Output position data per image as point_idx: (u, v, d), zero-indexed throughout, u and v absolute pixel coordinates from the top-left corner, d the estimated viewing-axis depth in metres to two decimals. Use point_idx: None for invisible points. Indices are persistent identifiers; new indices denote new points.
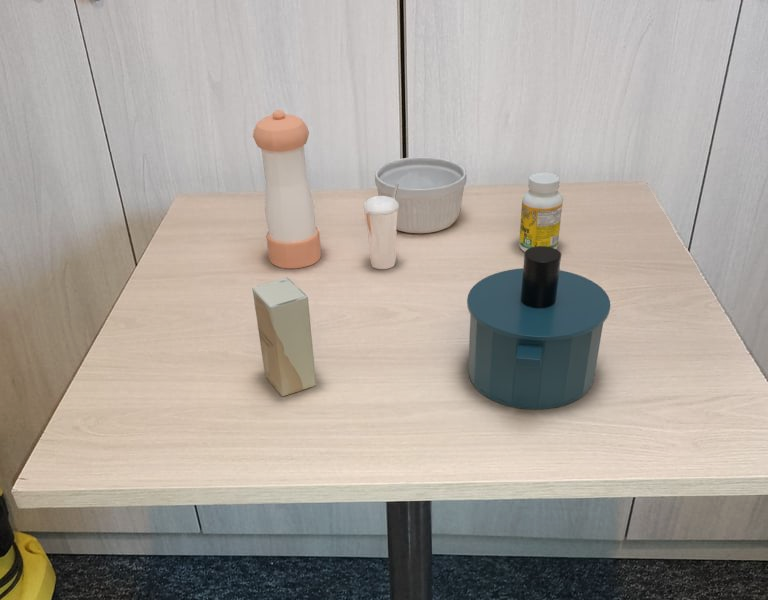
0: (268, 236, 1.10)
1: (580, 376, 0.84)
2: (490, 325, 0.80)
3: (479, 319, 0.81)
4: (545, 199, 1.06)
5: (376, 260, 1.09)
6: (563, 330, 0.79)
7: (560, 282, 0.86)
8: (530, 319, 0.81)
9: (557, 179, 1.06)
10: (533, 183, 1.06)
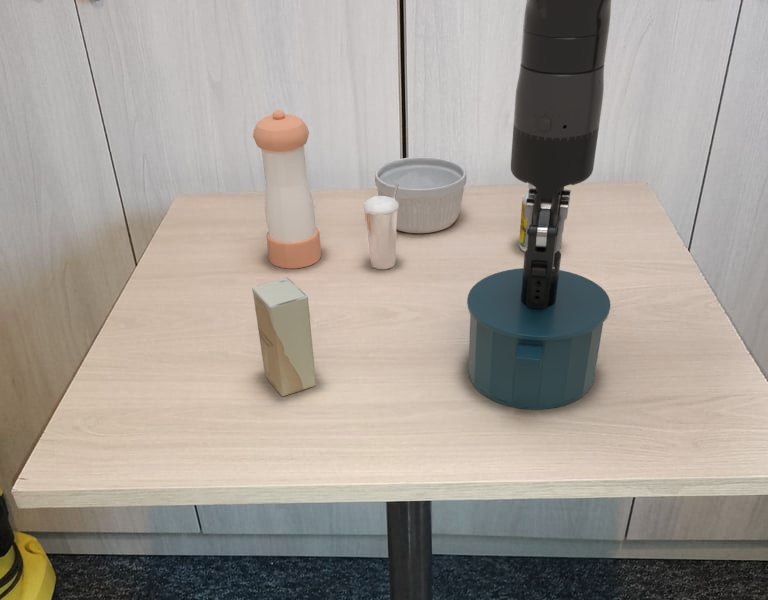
0: (268, 236, 1.10)
1: (580, 376, 0.84)
2: (490, 325, 0.80)
3: (479, 319, 0.81)
4: None
5: (376, 260, 1.09)
6: (563, 330, 0.79)
7: (560, 282, 0.86)
8: (530, 319, 0.81)
9: None
10: None
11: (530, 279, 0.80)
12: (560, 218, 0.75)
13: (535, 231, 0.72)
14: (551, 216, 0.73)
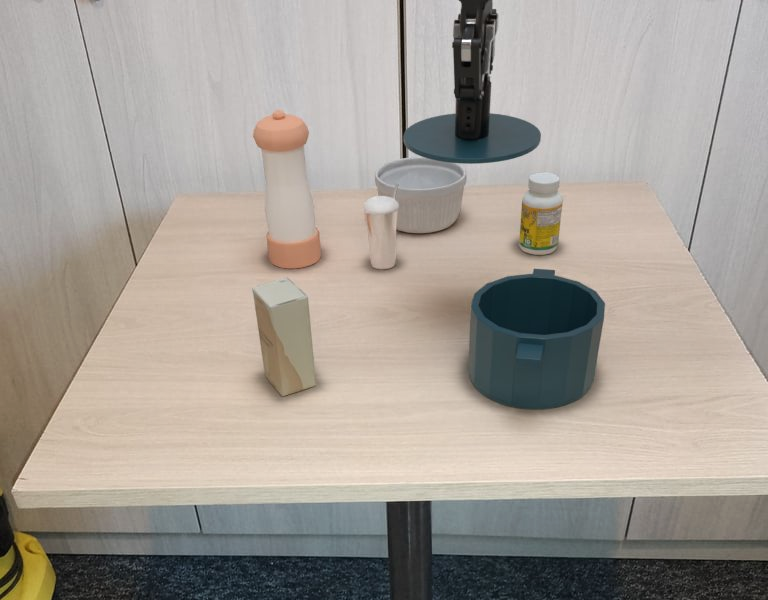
0: (268, 236, 1.10)
1: (580, 376, 0.84)
2: (423, 152, 0.83)
3: (413, 148, 0.84)
4: (545, 199, 1.06)
5: (376, 260, 1.09)
6: (492, 154, 0.82)
7: (495, 122, 0.89)
8: (462, 147, 0.83)
9: (557, 179, 1.06)
10: (533, 183, 1.06)
11: (461, 106, 0.82)
12: (487, 38, 0.78)
13: (459, 43, 0.75)
14: (476, 31, 0.76)
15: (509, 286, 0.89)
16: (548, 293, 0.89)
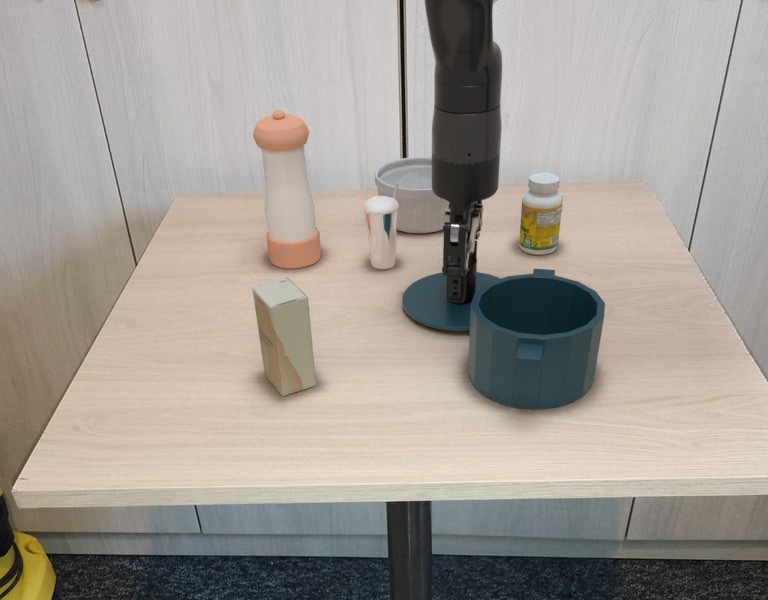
0: (268, 236, 1.10)
1: (580, 376, 0.84)
2: (418, 318, 0.97)
3: (410, 313, 0.98)
4: (545, 199, 1.06)
5: (376, 260, 1.09)
6: None
7: (481, 283, 1.03)
8: (452, 313, 0.98)
9: (557, 179, 1.06)
10: (533, 183, 1.06)
11: (449, 278, 0.94)
12: (472, 225, 0.92)
13: (449, 225, 0.88)
14: None
15: (509, 286, 0.89)
16: (548, 293, 0.89)
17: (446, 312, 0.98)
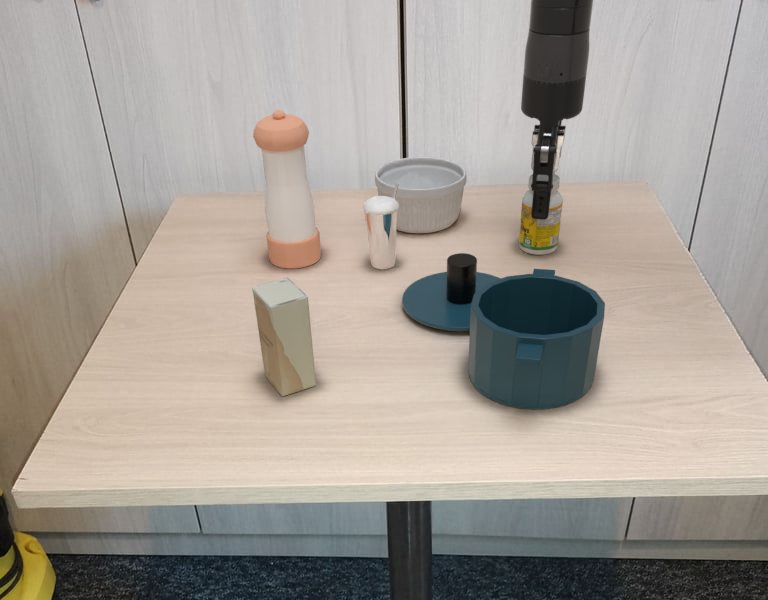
0: (268, 236, 1.10)
1: (580, 376, 0.84)
2: (418, 318, 0.97)
3: (410, 313, 0.98)
4: None
5: (376, 260, 1.09)
6: None
7: (481, 283, 1.03)
8: (452, 313, 0.98)
9: (557, 179, 1.06)
10: None
11: (535, 195, 1.05)
12: (558, 145, 1.01)
13: (540, 148, 0.98)
14: (551, 143, 0.99)
15: (509, 286, 0.89)
16: (548, 293, 0.89)
17: (446, 312, 0.98)
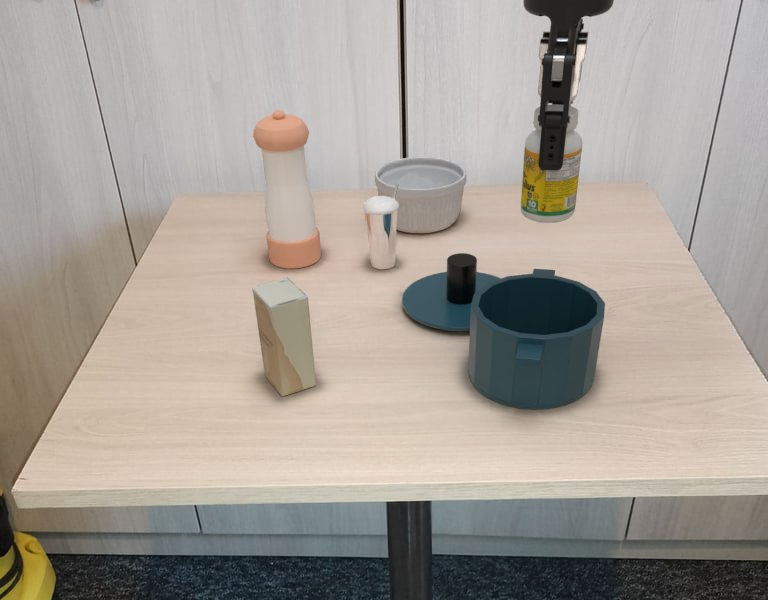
0: (268, 236, 1.10)
1: (580, 376, 0.84)
2: (418, 318, 0.97)
3: (410, 313, 0.98)
4: None
5: (376, 260, 1.09)
6: None
7: (481, 283, 1.03)
8: (452, 313, 0.98)
9: (575, 112, 0.74)
10: None
11: (543, 134, 0.73)
12: (577, 58, 0.69)
13: (551, 58, 0.66)
14: (567, 52, 0.67)
15: (509, 286, 0.89)
16: (548, 293, 0.89)
17: (446, 312, 0.98)
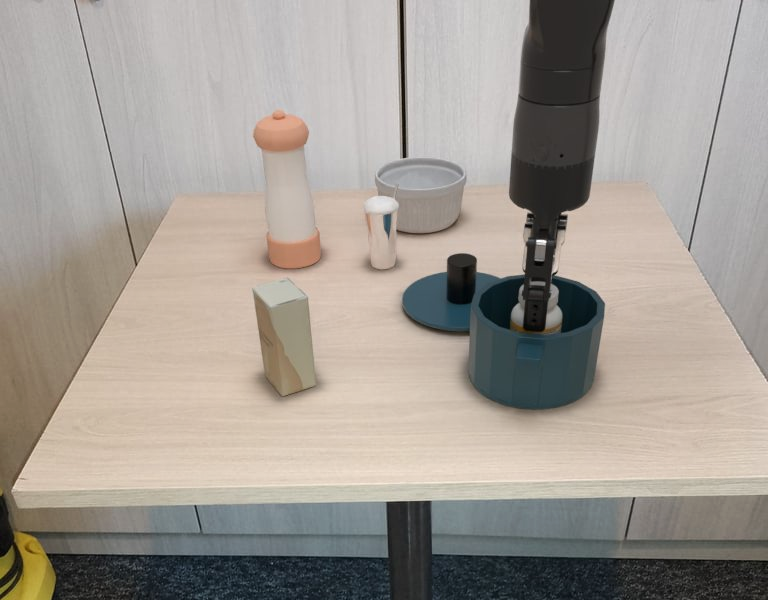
0: (268, 236, 1.10)
1: (580, 376, 0.84)
2: (418, 318, 0.97)
3: (410, 313, 0.98)
4: None
5: (376, 260, 1.09)
6: None
7: (481, 283, 1.03)
8: (452, 313, 0.98)
9: (555, 293, 0.82)
10: None
11: (527, 302, 0.79)
12: (558, 240, 0.77)
13: (534, 241, 0.73)
14: None
15: (509, 286, 0.89)
16: None
17: (446, 312, 0.98)
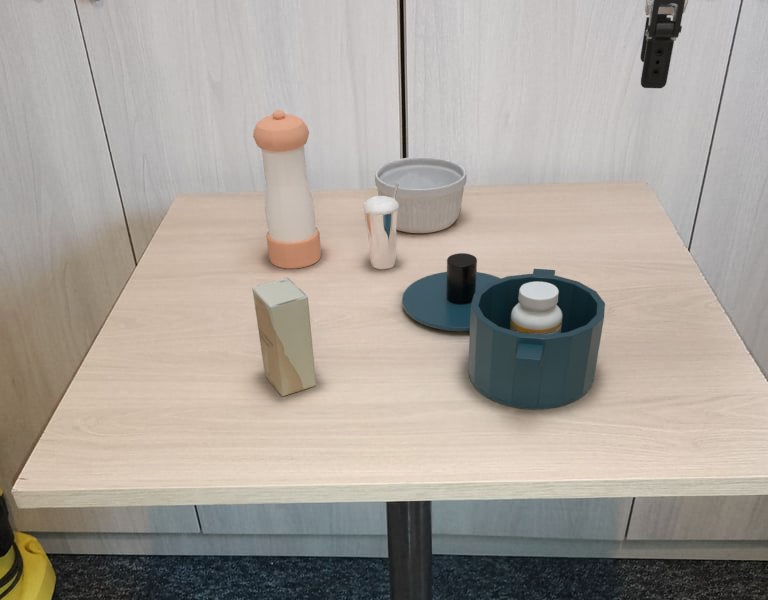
0: (268, 236, 1.10)
1: (580, 376, 0.84)
2: (418, 318, 0.97)
3: (410, 313, 0.98)
4: (540, 318, 0.83)
5: (376, 260, 1.09)
6: None
7: (481, 283, 1.03)
8: (452, 313, 0.98)
9: (555, 293, 0.82)
10: (525, 297, 0.82)
11: (649, 49, 0.70)
12: None
13: None
14: None
15: (509, 286, 0.89)
16: None
17: (446, 312, 0.98)
